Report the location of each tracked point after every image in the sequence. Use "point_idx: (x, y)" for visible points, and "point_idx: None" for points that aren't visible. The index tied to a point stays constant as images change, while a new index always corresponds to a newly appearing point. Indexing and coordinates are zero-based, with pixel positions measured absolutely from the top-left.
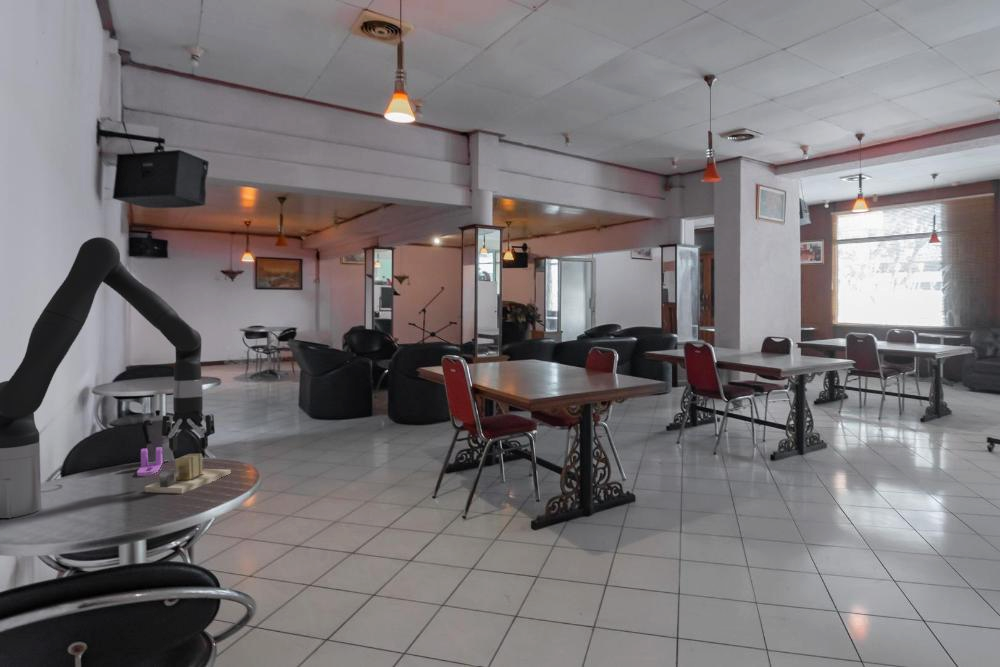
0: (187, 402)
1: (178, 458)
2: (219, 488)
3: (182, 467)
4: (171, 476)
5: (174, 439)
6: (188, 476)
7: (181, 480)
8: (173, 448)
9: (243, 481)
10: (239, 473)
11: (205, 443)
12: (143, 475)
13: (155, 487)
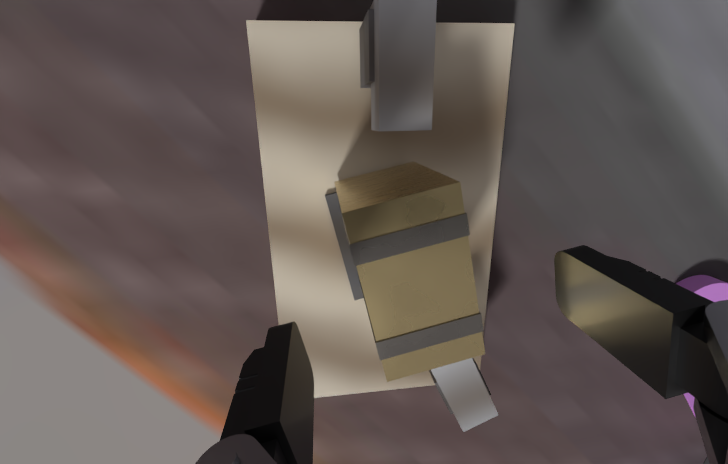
0: None
1: (457, 216)
2: (115, 161)
3: (387, 184)
4: (367, 56)
5: (650, 332)
6: (343, 183)
7: None
8: (570, 262)
9: (104, 299)
10: None
11: (236, 391)
12: (689, 281)
13: (439, 23)
